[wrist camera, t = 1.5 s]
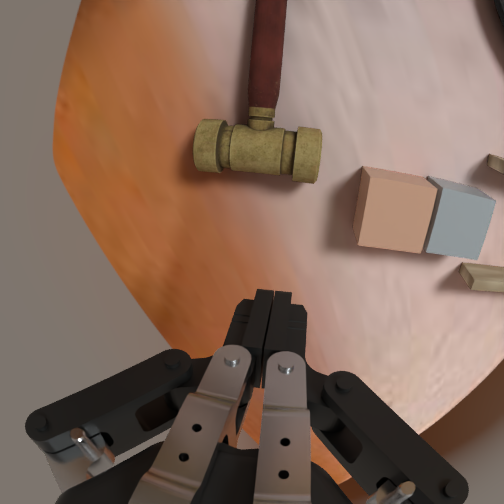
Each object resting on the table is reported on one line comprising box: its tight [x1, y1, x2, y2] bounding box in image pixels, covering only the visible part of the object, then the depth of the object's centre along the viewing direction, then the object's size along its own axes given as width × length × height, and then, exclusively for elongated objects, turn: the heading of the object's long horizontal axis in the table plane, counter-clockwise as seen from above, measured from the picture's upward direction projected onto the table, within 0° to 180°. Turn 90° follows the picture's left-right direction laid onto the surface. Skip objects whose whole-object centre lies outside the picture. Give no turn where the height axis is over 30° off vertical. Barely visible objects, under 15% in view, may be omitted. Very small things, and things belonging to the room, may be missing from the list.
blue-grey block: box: [423, 176, 496, 260], centre depth 25 cm, size 6×6×4 cm
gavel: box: [193, 0, 322, 184], centre depth 22 cm, size 21×5×10 cm
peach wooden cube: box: [353, 166, 437, 254], centre depth 26 cm, size 6×6×4 cm
